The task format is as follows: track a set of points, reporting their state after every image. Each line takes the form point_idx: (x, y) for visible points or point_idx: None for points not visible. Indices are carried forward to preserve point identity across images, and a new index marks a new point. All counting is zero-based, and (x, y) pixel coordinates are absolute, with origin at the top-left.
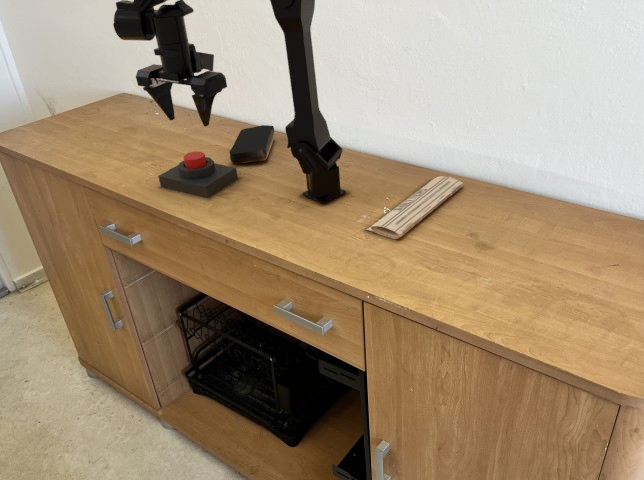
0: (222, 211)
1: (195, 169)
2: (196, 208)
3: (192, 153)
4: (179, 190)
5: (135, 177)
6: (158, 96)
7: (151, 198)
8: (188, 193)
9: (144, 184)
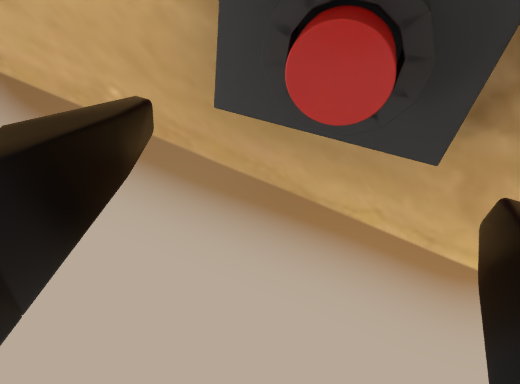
0: None
1: (369, 118)
2: (414, 194)
3: (316, 54)
4: None
5: (94, 29)
6: (4, 318)
7: (247, 154)
8: None
9: (162, 74)
